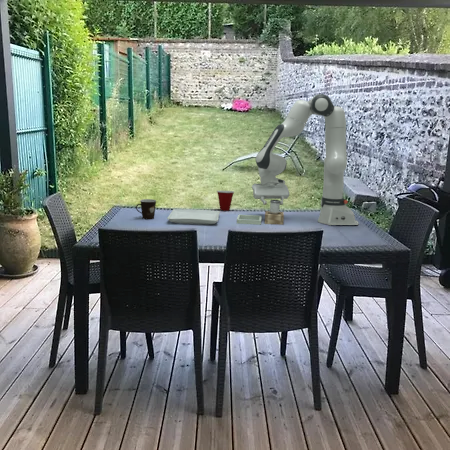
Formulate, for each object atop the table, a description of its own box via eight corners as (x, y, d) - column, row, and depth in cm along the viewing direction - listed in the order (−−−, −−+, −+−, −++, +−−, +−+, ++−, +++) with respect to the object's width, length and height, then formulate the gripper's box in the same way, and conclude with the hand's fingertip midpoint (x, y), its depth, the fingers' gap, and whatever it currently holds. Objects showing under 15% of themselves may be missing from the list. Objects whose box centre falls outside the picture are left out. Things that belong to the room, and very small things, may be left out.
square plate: (217, 227, 269) (218, 219, 268) (166, 225, 270) (166, 217, 269) (220, 216, 296) (220, 209, 295) (173, 214, 296) (173, 208, 295)
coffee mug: (154, 216, 288) (154, 199, 285) (157, 219, 280) (157, 201, 278) (133, 217, 284) (133, 199, 282) (136, 220, 276) (136, 202, 274)
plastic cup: (234, 208, 317) (235, 189, 315) (232, 212, 307) (233, 192, 304) (217, 207, 318) (217, 188, 316) (215, 211, 308) (215, 191, 305)
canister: (278, 221, 281) (279, 200, 278) (278, 223, 276) (280, 201, 273) (269, 220, 281) (270, 199, 279) (269, 222, 276) (270, 201, 274)
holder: (282, 222, 283) (283, 211, 282) (283, 226, 274) (283, 215, 272) (264, 221, 284) (265, 210, 283) (264, 225, 275) (265, 214, 273)
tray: (261, 221, 284) (261, 215, 284) (260, 226, 272) (261, 220, 271) (238, 220, 285) (238, 214, 285) (236, 225, 273) (236, 219, 272)
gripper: (252, 180, 281) (256, 201, 274) (287, 180, 285) (292, 200, 278) (250, 187, 286) (253, 207, 279) (284, 187, 291) (289, 207, 284)
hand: (273, 204), depth 279 cm, fingers open, 8 cm apart
